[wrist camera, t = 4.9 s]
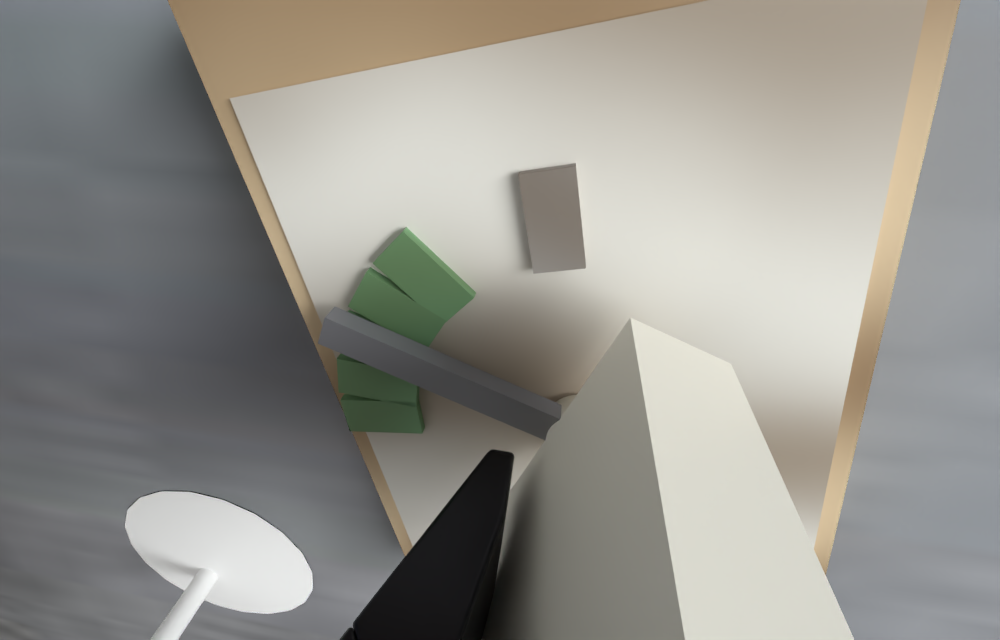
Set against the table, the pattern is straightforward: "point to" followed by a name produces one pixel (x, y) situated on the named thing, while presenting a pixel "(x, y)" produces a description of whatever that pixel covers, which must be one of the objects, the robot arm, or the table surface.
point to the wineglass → (216, 557)
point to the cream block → (632, 498)
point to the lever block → (584, 201)
